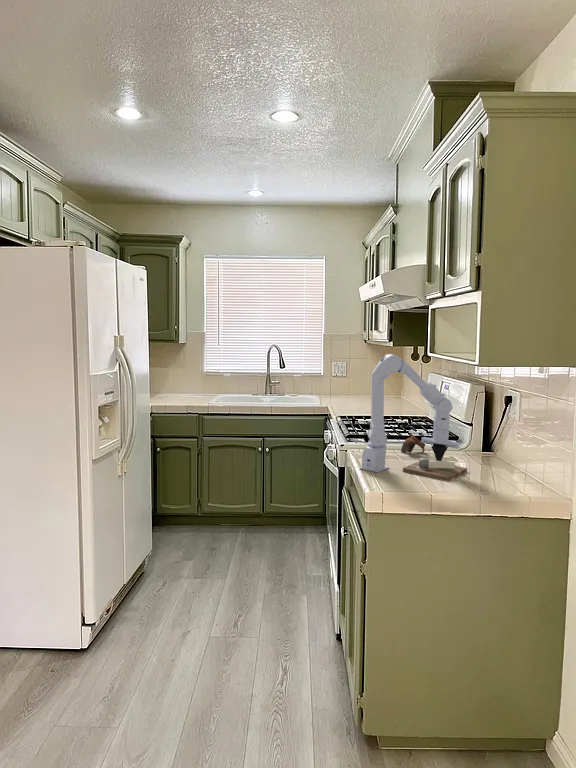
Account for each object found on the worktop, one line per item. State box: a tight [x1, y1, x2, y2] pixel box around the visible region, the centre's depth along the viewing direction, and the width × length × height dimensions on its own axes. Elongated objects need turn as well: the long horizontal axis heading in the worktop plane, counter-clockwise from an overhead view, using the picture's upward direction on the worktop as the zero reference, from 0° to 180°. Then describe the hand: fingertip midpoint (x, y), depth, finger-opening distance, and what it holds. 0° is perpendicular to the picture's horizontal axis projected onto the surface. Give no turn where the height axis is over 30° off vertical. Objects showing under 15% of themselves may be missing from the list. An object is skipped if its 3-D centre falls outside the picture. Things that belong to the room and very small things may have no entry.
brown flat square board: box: [402, 461, 468, 482], centre depth 216 cm, size 18×18×2 cm
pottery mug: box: [400, 435, 426, 455], centre depth 247 cm, size 12×9×8 cm
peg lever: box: [418, 457, 456, 468], centre depth 215 cm, size 13×4×3 cm, turn 92°
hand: (438, 463), depth 217 cm, fingers closed
